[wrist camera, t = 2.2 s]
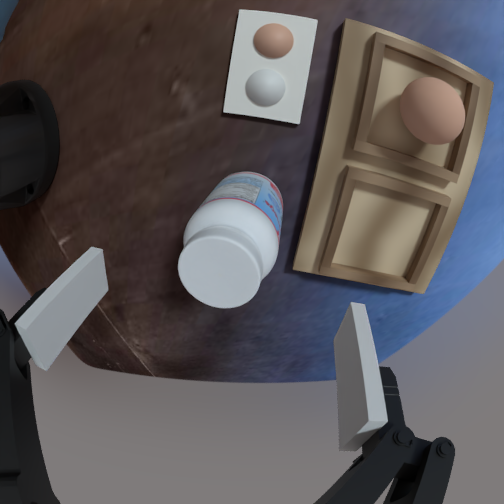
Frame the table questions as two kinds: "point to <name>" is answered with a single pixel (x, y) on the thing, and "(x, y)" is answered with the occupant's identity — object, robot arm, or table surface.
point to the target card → (270, 65)
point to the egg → (432, 110)
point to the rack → (387, 166)
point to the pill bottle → (232, 240)
